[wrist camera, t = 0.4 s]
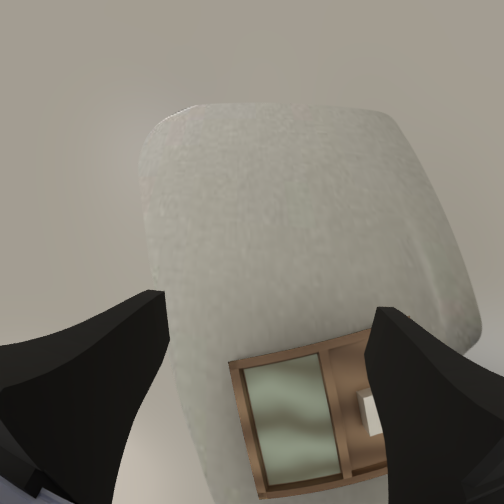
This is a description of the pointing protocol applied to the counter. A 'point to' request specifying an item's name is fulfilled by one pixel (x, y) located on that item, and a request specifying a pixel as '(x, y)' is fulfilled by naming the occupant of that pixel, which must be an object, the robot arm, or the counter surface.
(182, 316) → the counter surface
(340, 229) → the counter surface
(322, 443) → the sorting tray
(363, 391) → the stone block
